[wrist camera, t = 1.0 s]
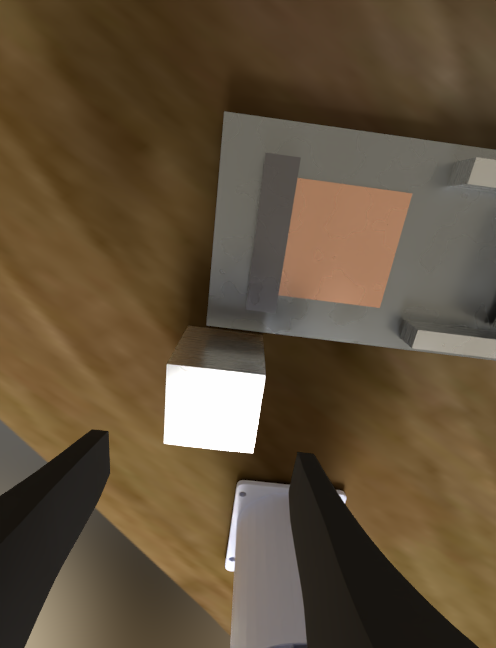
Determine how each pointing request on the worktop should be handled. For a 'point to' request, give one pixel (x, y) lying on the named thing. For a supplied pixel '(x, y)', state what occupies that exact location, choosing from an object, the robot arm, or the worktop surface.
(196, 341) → the white rectangular block
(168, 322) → the worktop surface
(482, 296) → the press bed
